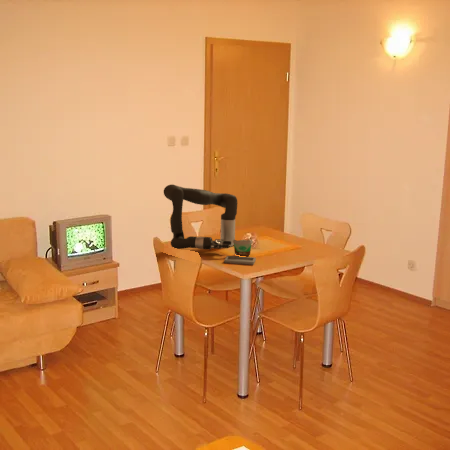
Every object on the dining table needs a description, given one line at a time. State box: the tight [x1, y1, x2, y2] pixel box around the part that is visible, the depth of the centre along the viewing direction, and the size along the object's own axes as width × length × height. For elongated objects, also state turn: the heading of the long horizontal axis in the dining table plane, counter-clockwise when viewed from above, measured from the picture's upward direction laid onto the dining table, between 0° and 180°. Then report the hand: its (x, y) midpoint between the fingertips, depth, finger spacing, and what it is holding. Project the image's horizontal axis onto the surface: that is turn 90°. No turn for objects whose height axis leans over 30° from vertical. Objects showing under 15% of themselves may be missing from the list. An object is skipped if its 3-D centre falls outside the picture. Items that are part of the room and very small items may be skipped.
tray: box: [223, 255, 257, 266], centre depth 359 cm, size 10×17×2 cm, turn 80°
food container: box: [233, 239, 253, 257], centre depth 371 cm, size 12×6×10 cm, turn 101°
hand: (229, 244), depth 372 cm, fingers open, 8 cm apart
